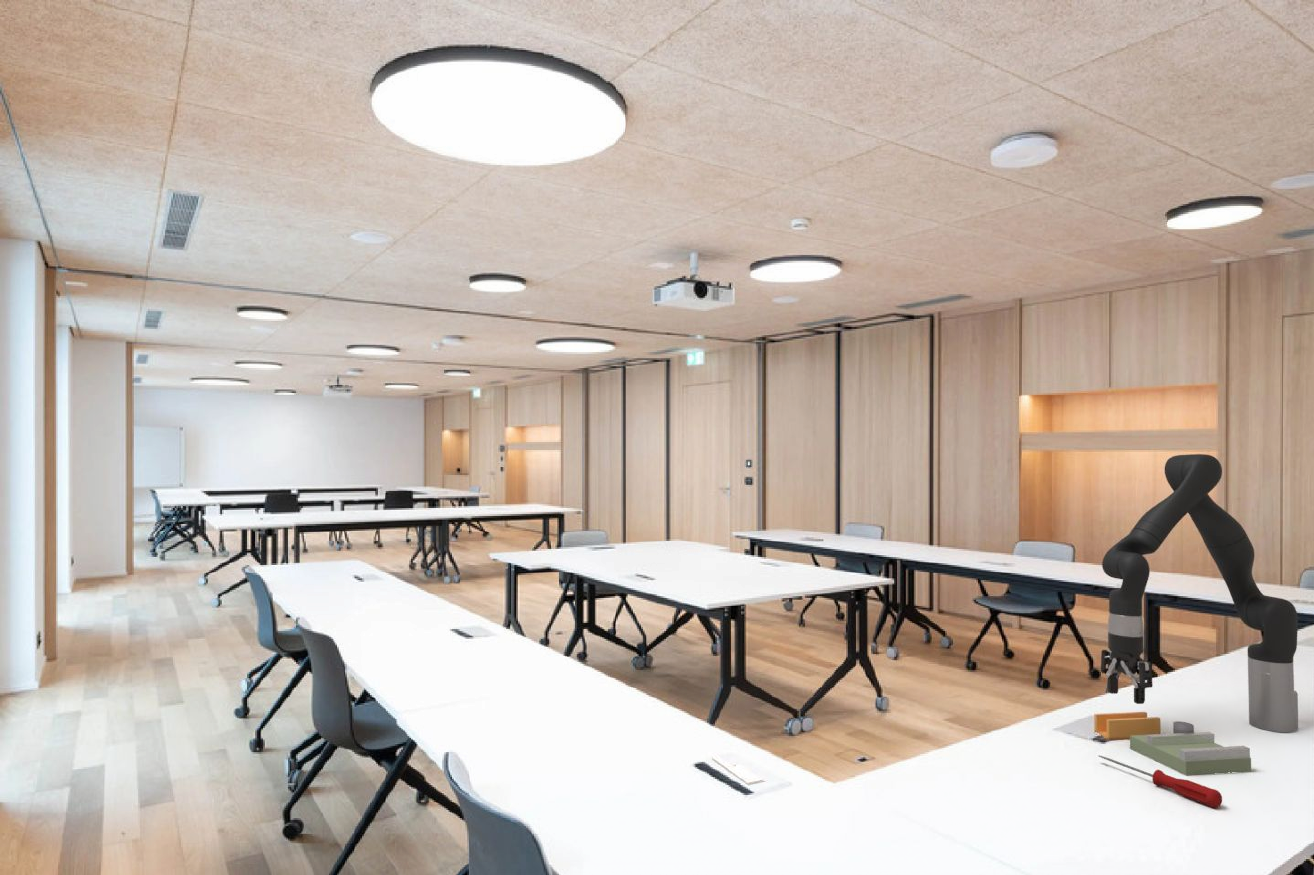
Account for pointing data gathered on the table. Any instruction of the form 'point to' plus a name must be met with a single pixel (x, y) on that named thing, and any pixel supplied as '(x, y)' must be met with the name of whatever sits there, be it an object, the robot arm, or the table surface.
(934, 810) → the table surface
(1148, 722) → the discharge chute
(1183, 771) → the marble run board
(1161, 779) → the screwdriver
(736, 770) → the white flat rectangular slab
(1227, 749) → the chute cradle
